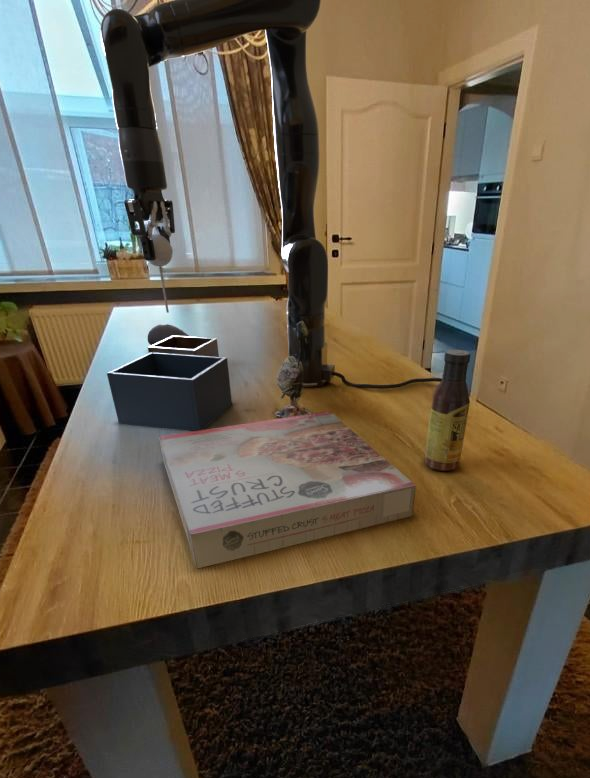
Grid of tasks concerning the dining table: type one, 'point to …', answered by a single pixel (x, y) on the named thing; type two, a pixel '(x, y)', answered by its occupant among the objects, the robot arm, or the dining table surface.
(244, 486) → the pizza box
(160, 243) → the lollipop
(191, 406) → the bin
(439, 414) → the sauce bottle
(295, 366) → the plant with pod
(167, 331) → the seashell
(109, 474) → the dining table surface
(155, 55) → the robot arm
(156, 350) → the basket
